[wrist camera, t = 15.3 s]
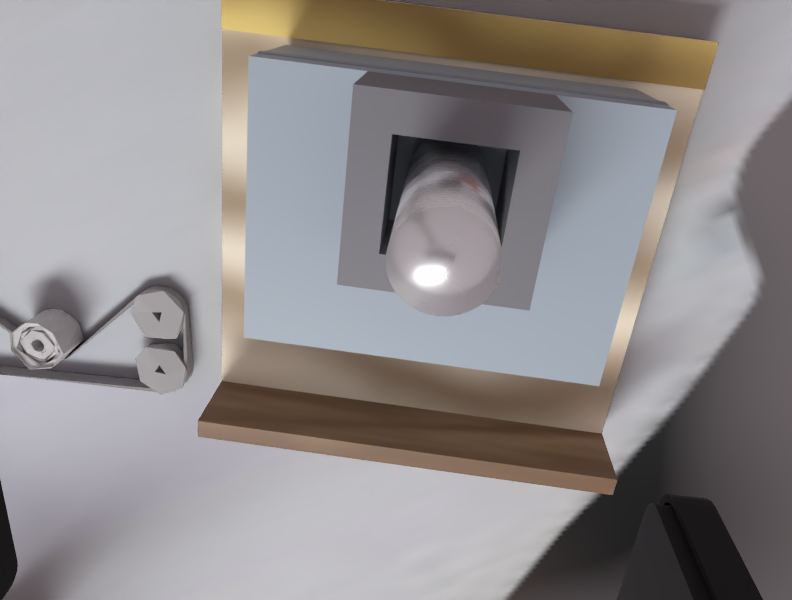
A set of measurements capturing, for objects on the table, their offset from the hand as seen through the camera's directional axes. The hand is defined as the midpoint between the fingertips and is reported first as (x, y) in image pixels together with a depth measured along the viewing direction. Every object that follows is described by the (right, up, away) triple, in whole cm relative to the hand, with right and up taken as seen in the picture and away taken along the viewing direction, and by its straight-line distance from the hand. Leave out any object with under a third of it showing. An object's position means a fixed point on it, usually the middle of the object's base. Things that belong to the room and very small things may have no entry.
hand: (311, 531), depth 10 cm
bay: (+3, +7, +26) cm, 27 cm away
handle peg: (+3, +8, +17) cm, 19 cm away
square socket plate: (+3, +8, +23) cm, 25 cm away
